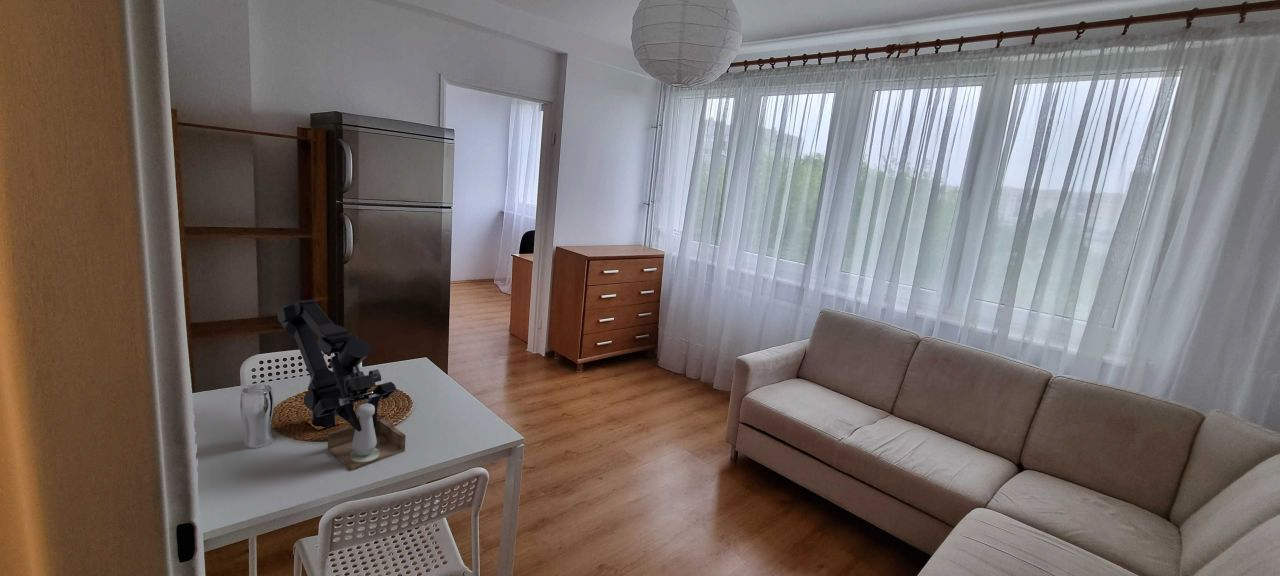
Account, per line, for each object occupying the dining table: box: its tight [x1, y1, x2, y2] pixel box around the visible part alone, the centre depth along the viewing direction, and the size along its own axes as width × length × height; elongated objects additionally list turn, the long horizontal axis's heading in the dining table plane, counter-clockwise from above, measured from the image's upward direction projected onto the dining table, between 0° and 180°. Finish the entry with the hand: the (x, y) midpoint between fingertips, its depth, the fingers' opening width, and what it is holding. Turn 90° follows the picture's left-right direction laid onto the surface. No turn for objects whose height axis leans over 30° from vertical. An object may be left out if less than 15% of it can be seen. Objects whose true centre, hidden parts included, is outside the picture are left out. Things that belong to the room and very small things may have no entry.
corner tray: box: [327, 417, 406, 471], centre depth 140 cm, size 13×14×5 cm
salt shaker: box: [352, 402, 377, 456], centre depth 135 cm, size 6×6×13 cm
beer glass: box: [239, 383, 275, 449], centre depth 136 cm, size 7×7×15 cm
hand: (367, 428), depth 134 cm, fingers closed on salt shaker, 3 cm apart
